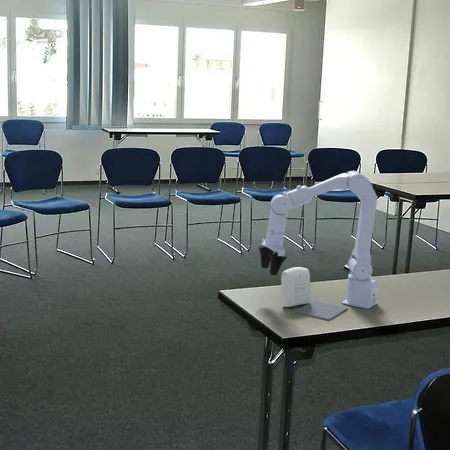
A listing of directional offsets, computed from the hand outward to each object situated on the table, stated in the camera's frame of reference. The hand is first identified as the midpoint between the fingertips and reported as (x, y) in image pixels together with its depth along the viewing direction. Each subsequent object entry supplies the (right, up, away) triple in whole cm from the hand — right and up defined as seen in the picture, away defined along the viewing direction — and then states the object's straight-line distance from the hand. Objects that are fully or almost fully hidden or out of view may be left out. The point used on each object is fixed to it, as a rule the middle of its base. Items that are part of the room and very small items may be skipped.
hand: (268, 271), depth 223 cm
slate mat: (+17, -12, -6) cm, 22 cm away
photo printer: (+9, -11, -1) cm, 14 cm away
